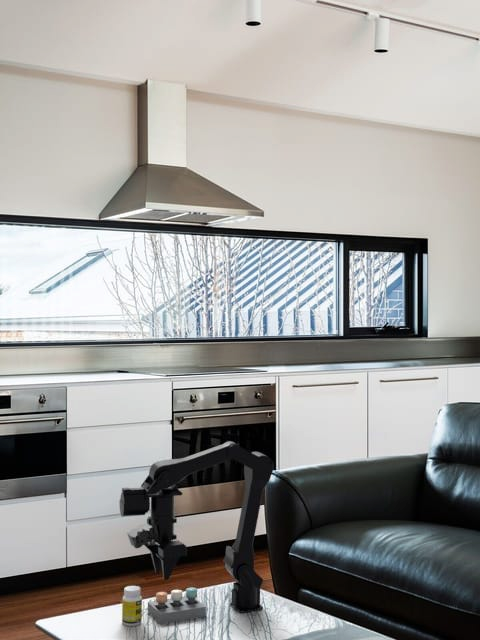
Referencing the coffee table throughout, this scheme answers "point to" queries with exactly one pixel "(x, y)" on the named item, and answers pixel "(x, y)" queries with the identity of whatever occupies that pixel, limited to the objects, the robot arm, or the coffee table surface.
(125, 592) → the supplement bottle
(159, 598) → the peach orange egg
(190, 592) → the light blue egg
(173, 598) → the cream white egg
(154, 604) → the panel
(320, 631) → the coffee table surface
